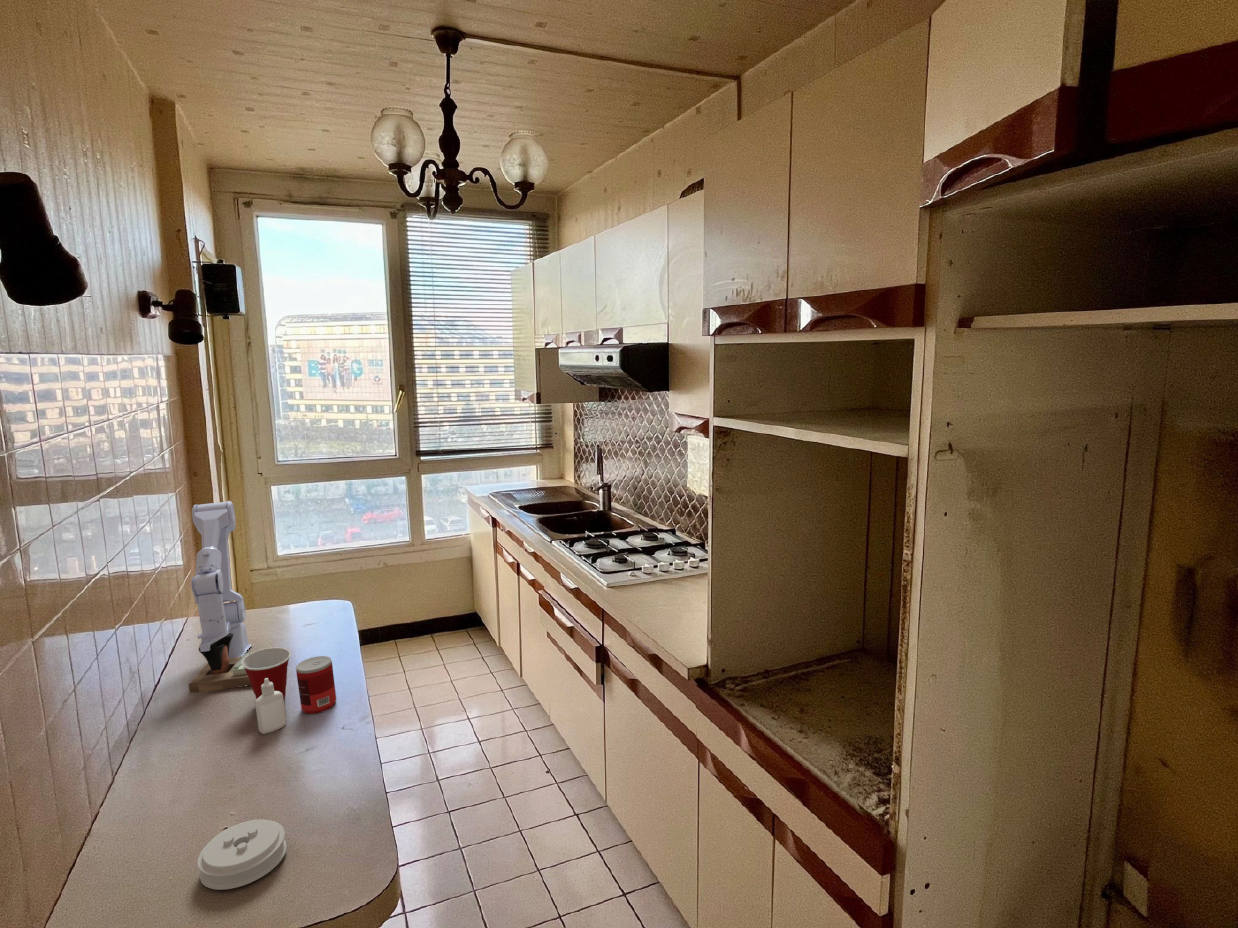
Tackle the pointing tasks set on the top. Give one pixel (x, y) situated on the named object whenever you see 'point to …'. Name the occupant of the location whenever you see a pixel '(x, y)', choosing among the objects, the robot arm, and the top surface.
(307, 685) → the canned food
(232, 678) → the board
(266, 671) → the plastic cup
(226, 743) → the top surface
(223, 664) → the pin
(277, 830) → the lid
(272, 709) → the eye dropper bottle
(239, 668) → the cover
